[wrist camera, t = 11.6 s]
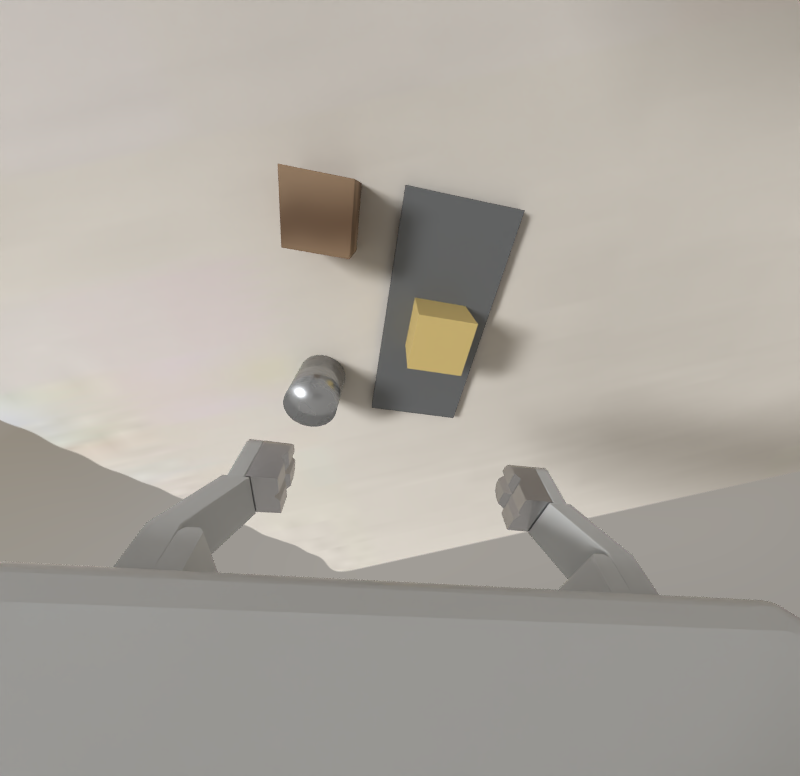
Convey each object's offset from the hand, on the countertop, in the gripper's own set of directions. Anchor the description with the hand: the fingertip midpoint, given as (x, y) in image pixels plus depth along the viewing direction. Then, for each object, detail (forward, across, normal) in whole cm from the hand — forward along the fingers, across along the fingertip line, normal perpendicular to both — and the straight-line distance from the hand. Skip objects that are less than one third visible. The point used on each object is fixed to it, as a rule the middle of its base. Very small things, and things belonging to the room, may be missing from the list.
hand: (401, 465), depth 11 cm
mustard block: (+20, -4, +2) cm, 21 cm away
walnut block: (+21, +7, -6) cm, 23 cm away
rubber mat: (+21, -4, +2) cm, 21 cm away
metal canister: (+21, +7, +10) cm, 24 cm away
